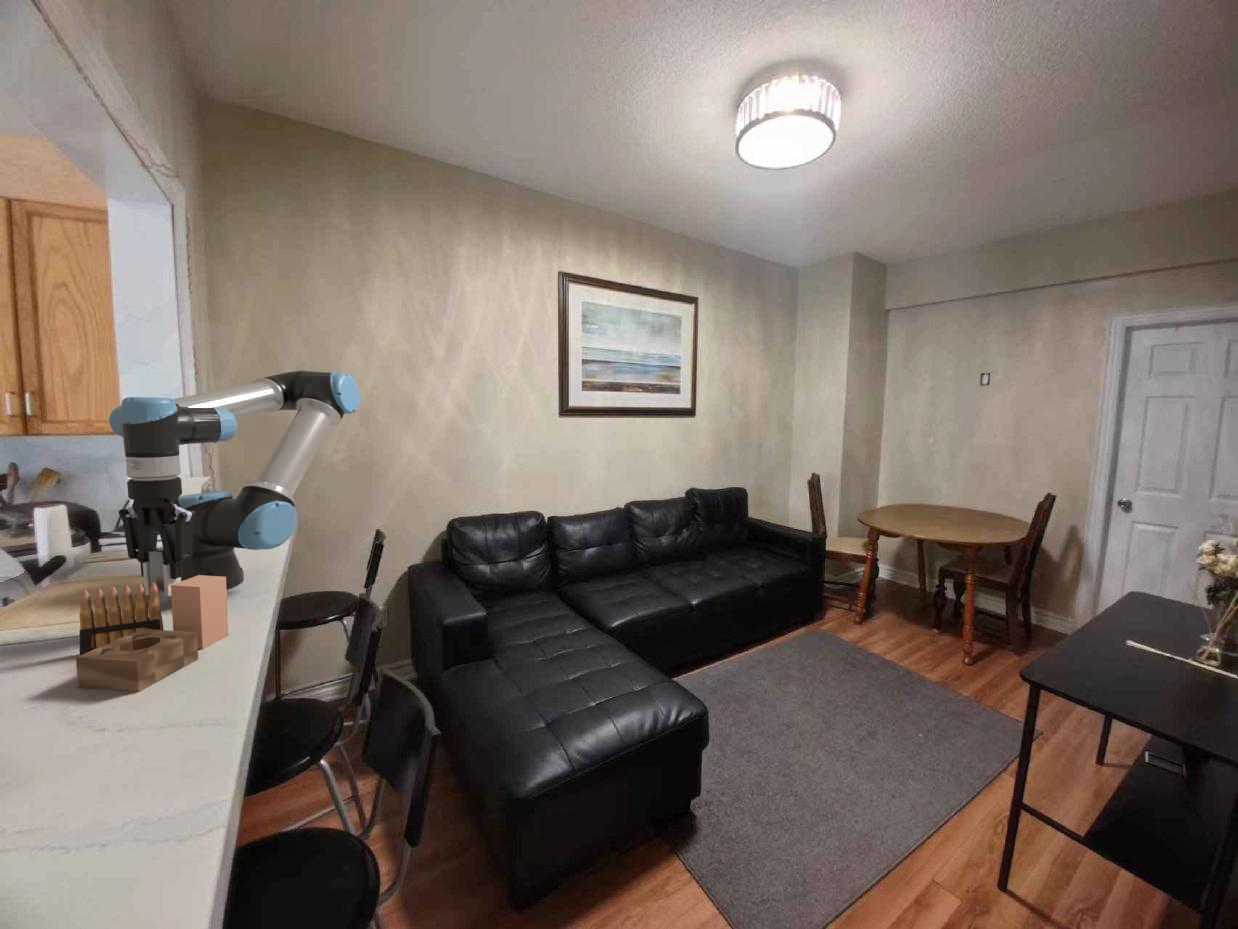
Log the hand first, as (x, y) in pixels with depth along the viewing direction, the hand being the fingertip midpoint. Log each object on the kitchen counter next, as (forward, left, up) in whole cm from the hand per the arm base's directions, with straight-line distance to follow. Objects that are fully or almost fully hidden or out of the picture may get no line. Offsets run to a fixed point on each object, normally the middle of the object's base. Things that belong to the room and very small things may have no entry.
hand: (163, 592), depth 94 cm
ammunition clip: (+9, +1, -7) cm, 12 cm away
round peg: (0, 0, -3) cm, 3 cm away
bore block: (+16, +12, -7) cm, 21 cm away
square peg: (+5, +12, -7) cm, 15 cm away
